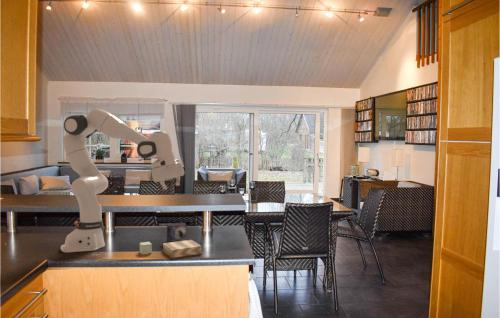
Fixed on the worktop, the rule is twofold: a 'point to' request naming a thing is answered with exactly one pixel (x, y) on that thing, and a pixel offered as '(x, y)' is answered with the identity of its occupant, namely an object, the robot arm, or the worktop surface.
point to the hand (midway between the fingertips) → (171, 187)
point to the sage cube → (145, 248)
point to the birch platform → (181, 248)
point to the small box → (176, 232)
